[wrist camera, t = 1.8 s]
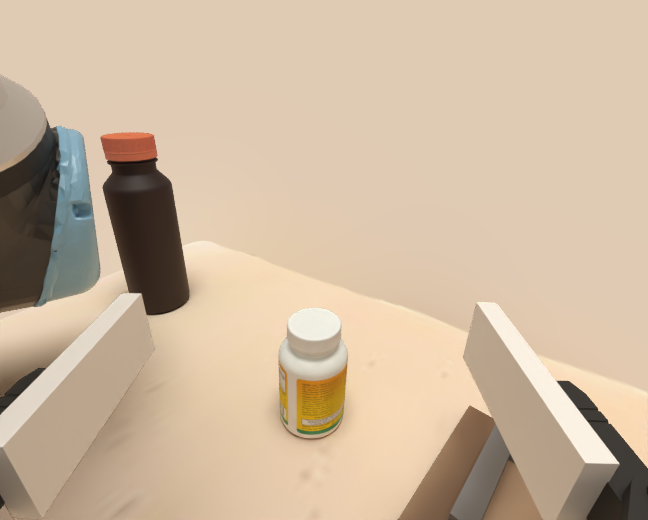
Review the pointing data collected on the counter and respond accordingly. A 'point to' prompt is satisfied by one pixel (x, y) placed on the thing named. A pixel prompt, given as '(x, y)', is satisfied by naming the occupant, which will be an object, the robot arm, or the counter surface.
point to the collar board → (473, 478)
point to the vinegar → (145, 222)
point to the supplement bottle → (312, 373)
